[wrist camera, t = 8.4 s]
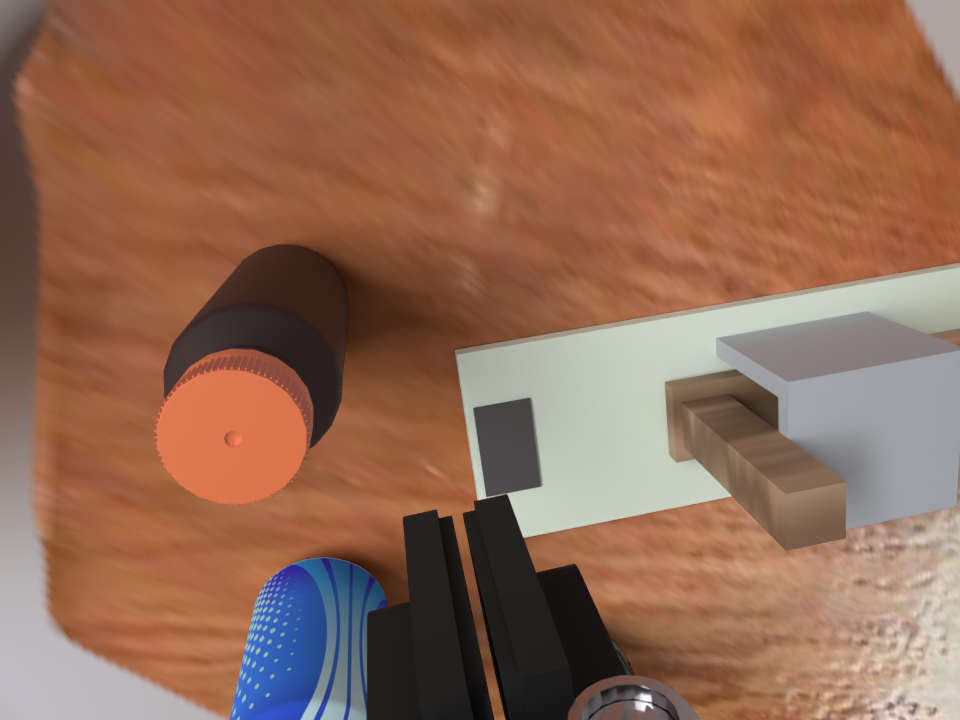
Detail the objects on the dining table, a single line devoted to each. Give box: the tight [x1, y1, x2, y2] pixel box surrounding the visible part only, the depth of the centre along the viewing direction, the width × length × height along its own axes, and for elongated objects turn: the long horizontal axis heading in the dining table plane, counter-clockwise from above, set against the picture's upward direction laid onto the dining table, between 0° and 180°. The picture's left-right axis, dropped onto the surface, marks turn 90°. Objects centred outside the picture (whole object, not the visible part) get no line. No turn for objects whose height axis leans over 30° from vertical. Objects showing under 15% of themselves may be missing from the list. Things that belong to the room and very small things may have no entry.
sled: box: [665, 328, 960, 551], centre depth 43 cm, size 5×26×13 cm, turn 98°
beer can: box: [230, 557, 388, 720], centre depth 42 cm, size 8×8×16 cm
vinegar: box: [155, 245, 348, 505], centre depth 34 cm, size 7×7×20 cm
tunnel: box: [716, 311, 960, 529], centre depth 45 cm, size 9×10×8 cm
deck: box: [455, 263, 960, 538], centre depth 49 cm, size 13×33×1 cm, turn 98°
